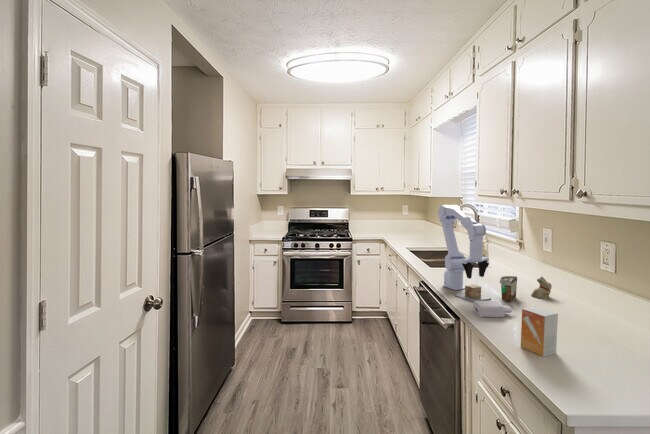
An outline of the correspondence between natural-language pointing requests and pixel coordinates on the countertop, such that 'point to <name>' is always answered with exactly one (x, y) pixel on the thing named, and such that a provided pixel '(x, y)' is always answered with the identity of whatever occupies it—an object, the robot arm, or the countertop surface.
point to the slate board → (472, 298)
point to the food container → (508, 288)
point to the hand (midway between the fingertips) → (475, 277)
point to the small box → (539, 331)
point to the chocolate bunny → (542, 289)
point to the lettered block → (472, 291)
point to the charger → (491, 309)
